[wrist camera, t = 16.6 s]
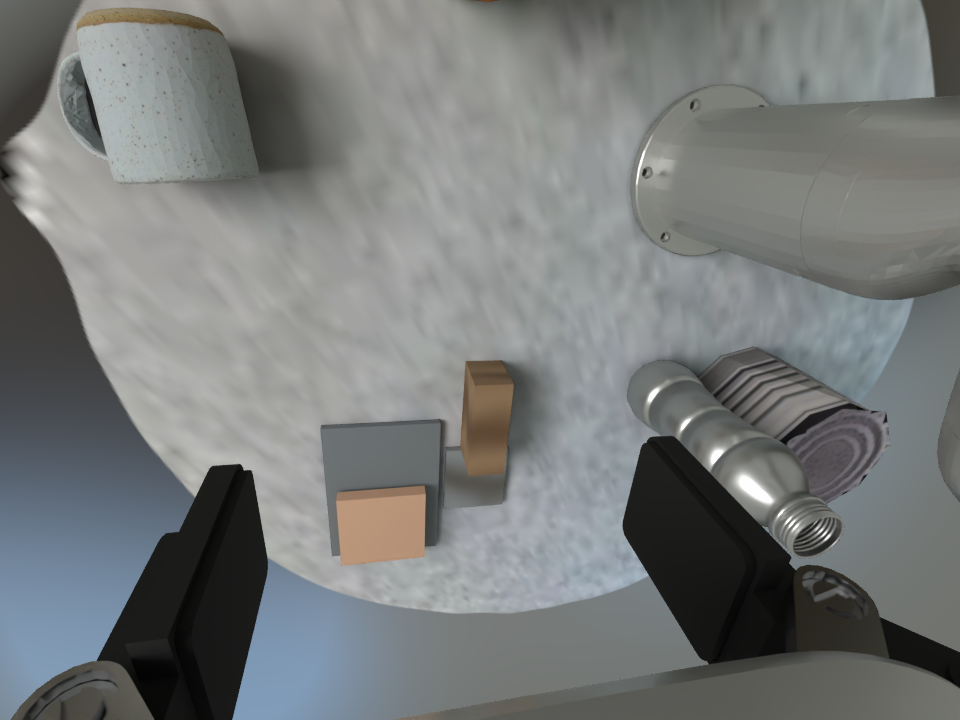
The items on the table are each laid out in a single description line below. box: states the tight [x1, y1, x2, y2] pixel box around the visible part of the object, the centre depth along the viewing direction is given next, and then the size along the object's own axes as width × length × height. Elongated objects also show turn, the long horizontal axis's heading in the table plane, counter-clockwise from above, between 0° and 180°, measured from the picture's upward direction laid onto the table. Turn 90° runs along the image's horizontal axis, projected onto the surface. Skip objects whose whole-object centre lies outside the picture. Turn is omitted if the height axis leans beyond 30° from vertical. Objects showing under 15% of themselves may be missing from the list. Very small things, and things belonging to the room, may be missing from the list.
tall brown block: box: [443, 360, 514, 509], centre depth 44 cm, size 16×6×4 cm, turn 176°
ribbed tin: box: [698, 347, 890, 504], centre depth 44 cm, size 11×11×12 cm
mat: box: [321, 420, 441, 556], centre depth 46 cm, size 10×15×1 cm
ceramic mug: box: [57, 8, 259, 184], centre depth 27 cm, size 11×8×8 cm
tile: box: [336, 486, 426, 566], centre depth 46 cm, size 8×2×8 cm
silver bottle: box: [627, 360, 845, 559], centre depth 38 cm, size 6×7×20 cm
